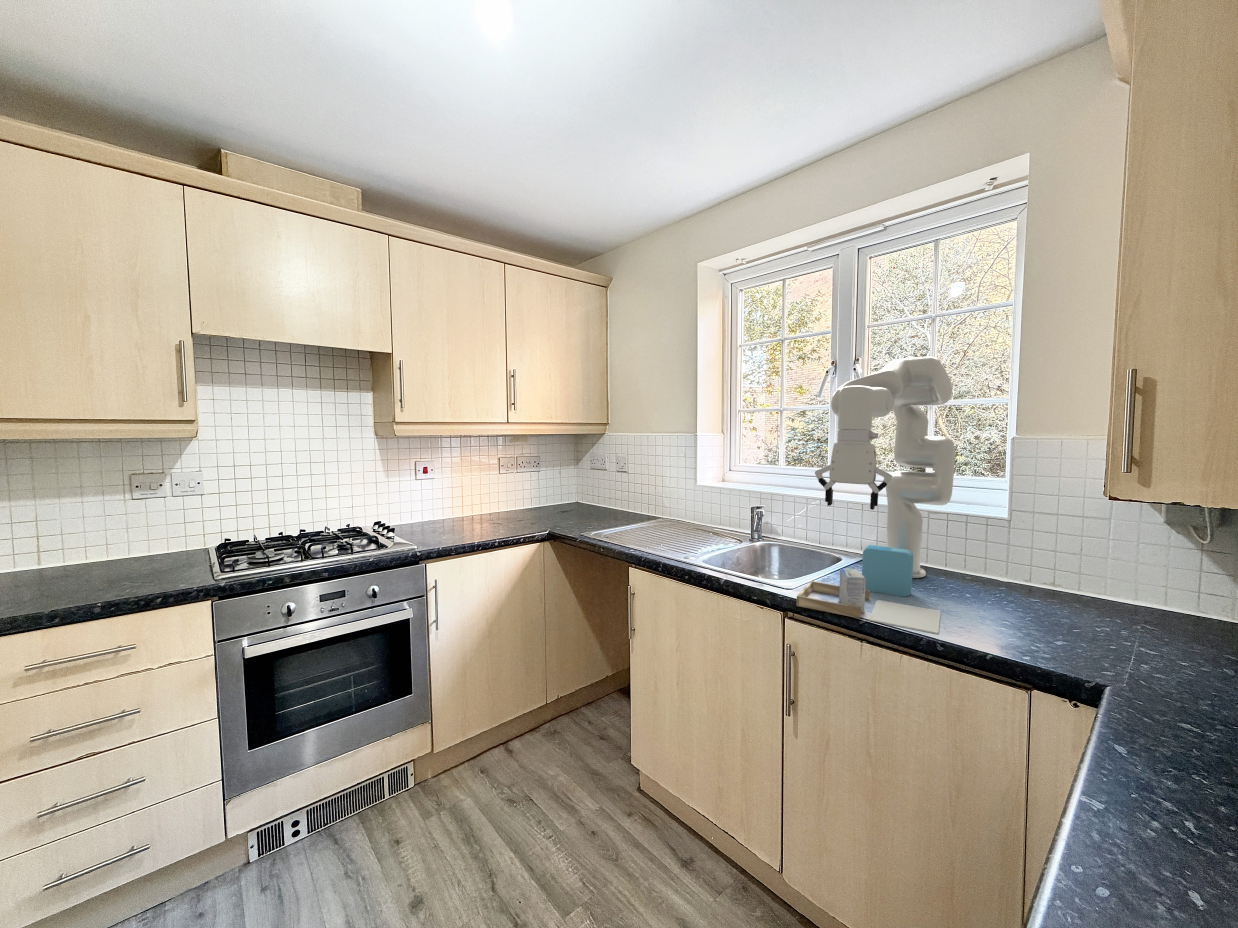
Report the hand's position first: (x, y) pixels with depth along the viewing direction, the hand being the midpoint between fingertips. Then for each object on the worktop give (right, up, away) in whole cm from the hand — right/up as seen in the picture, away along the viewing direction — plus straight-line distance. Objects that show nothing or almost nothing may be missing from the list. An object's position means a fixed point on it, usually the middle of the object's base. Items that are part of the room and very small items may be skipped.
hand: (850, 506), depth 127 cm
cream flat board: (+12, -26, -3) cm, 29 cm away
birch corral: (-2, -25, +6) cm, 26 cm away
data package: (+17, -25, +15) cm, 34 cm away
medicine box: (+2, -26, +4) cm, 26 cm away
